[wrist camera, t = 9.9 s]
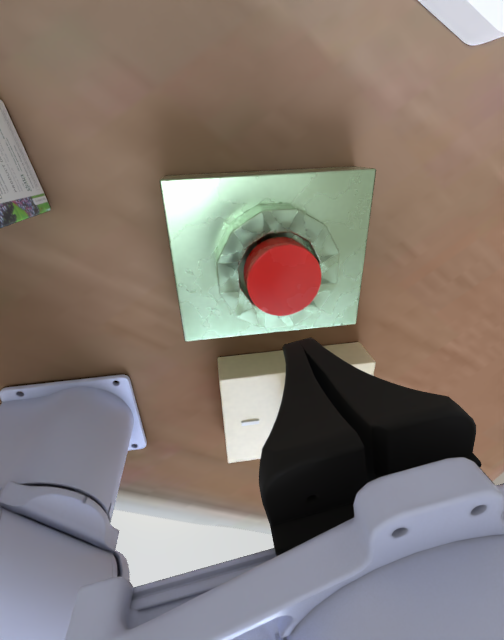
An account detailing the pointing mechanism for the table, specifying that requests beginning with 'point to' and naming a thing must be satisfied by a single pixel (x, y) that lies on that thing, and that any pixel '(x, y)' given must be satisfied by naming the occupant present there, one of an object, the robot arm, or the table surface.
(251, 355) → the dial panel
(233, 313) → the push button base
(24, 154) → the syrup box
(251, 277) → the button
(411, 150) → the table surface
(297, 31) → the table surface
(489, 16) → the bracket
